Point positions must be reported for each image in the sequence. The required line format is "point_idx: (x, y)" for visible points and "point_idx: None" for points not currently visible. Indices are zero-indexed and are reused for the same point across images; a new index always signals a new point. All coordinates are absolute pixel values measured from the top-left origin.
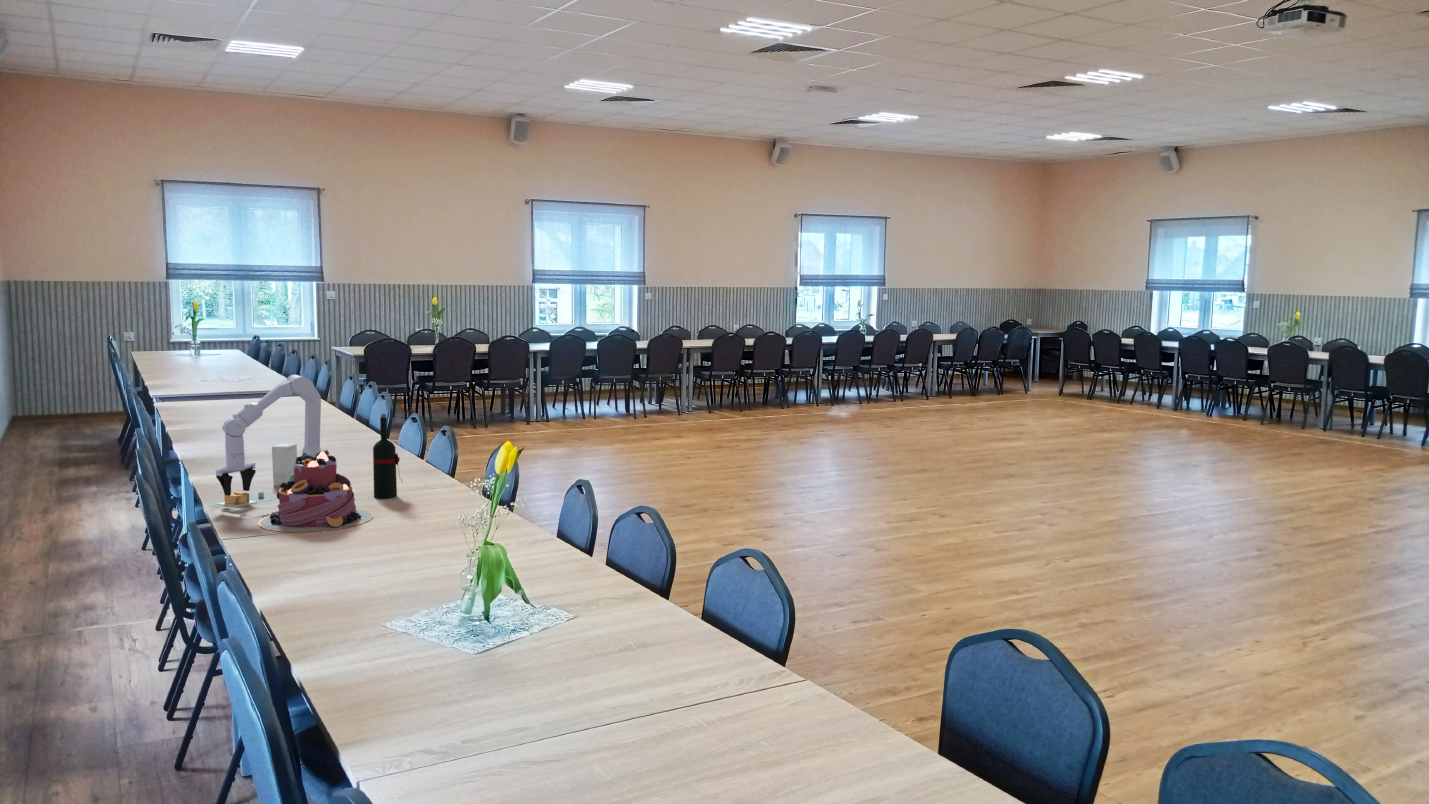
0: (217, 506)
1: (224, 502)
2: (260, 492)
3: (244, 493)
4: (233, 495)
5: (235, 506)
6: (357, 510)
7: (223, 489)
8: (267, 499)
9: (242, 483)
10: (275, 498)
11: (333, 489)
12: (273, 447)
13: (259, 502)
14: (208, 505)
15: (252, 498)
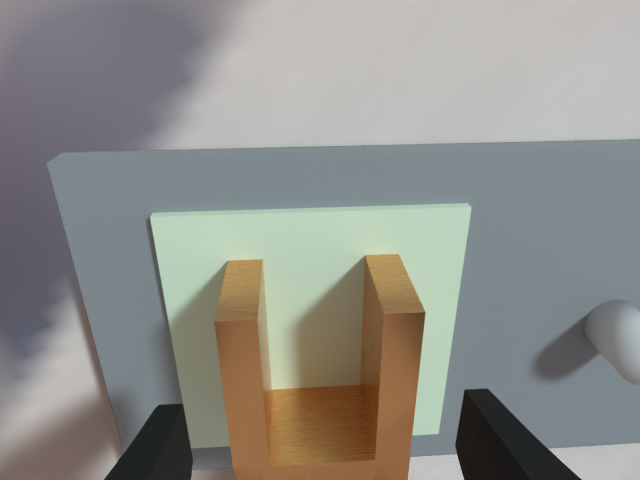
0: (106, 290)
1: (245, 236)
2: (636, 367)
3: (383, 452)
4: (240, 444)
5: (193, 442)
6: None
7: (117, 470)
8: (558, 411)
9: (514, 456)
10: (613, 428)
11: None
12: None
13: (433, 443)
14: (61, 168)
15: (558, 281)
